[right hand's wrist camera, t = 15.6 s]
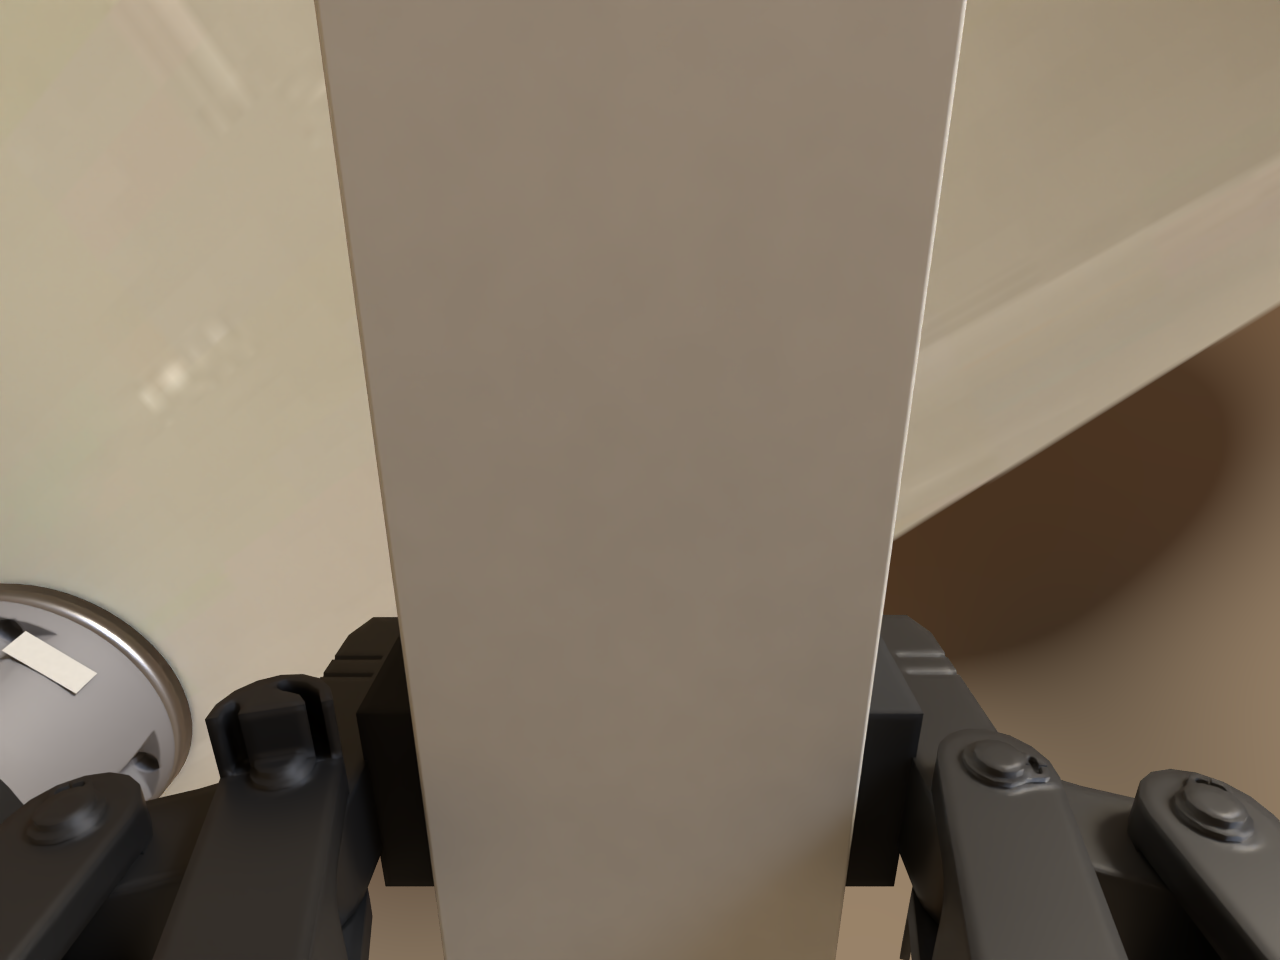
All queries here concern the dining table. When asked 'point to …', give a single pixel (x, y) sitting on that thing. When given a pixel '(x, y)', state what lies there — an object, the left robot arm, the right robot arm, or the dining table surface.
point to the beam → (640, 439)
